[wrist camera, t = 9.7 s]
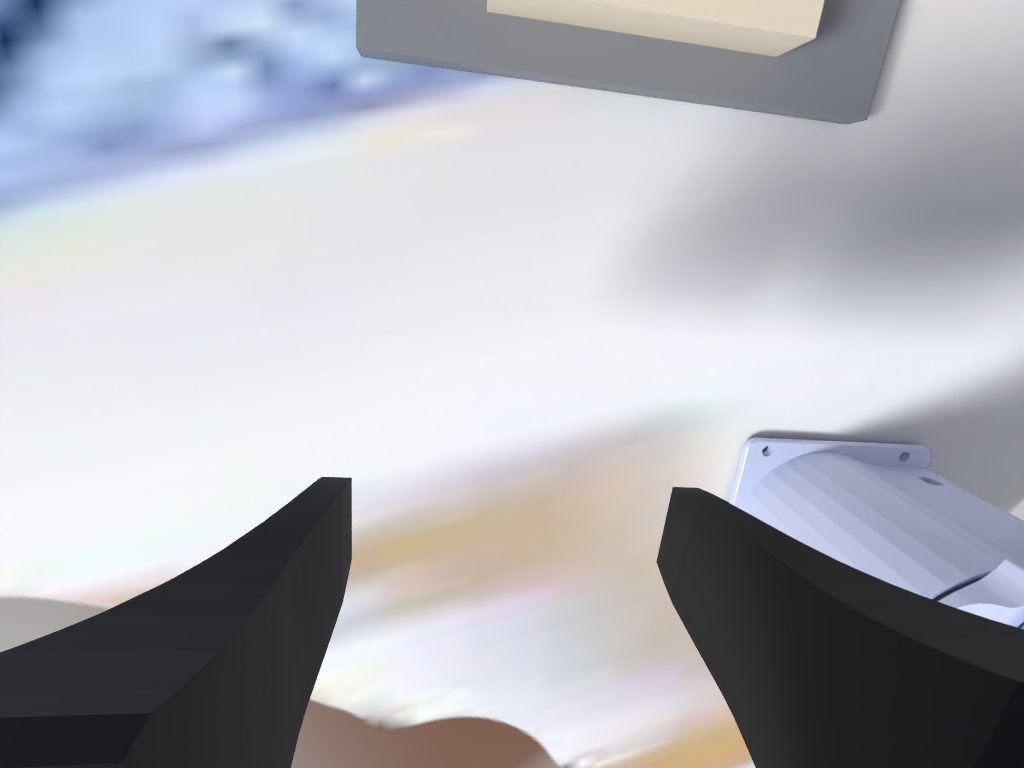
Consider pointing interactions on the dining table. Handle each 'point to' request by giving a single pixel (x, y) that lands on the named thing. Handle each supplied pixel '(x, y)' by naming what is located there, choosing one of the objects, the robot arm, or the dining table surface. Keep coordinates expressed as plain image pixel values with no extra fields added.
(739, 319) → the dining table surface
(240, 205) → the dining table surface
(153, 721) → the robot arm
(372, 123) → the dining table surface
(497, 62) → the base board
